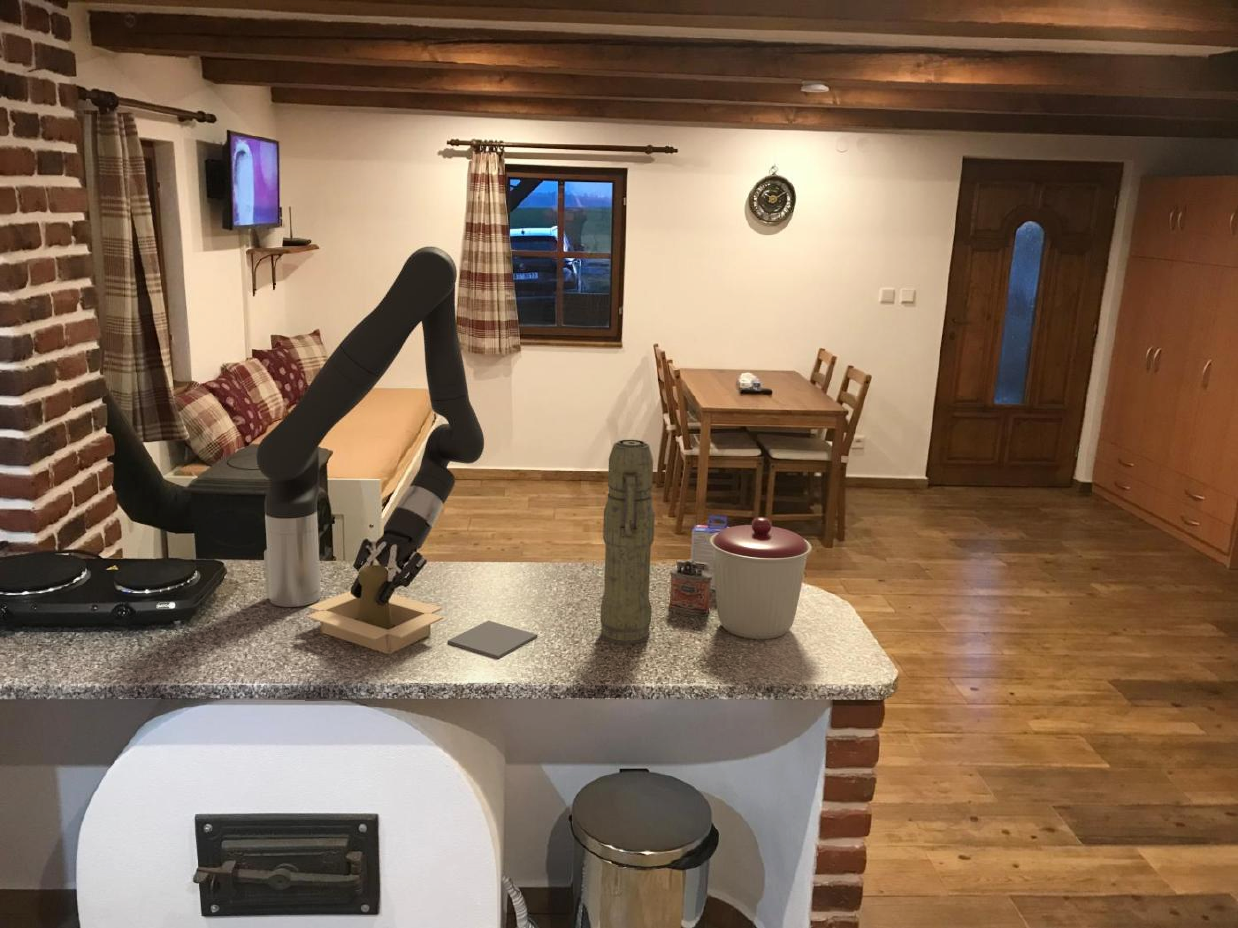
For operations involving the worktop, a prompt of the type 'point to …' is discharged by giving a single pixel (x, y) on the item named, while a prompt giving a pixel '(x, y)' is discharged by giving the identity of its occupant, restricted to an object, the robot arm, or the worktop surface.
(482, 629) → the mat
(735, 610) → the canister
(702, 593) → the lighter
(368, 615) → the cork
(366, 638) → the carton
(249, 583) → the worktop surface
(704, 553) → the ink cartridge box
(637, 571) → the thermos
